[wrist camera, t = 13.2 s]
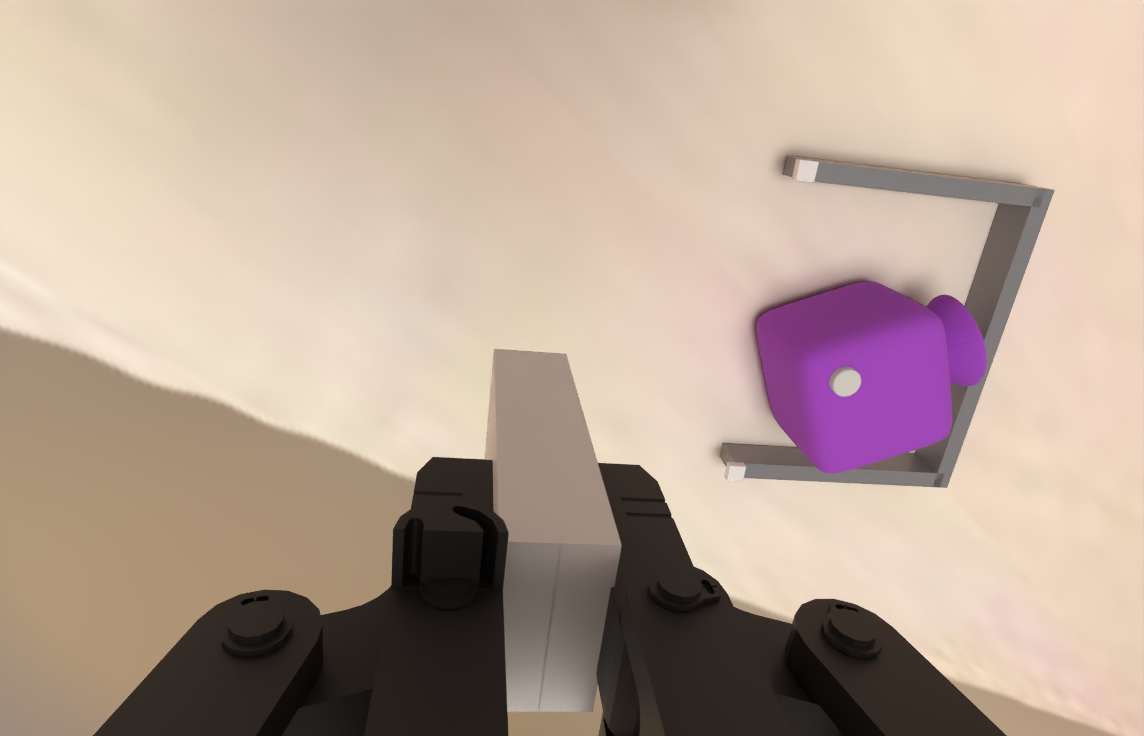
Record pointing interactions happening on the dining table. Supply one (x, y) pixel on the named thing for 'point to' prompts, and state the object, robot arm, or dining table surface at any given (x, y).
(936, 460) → the gray bracket frame
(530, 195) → the dining table surface
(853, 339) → the toy camera
